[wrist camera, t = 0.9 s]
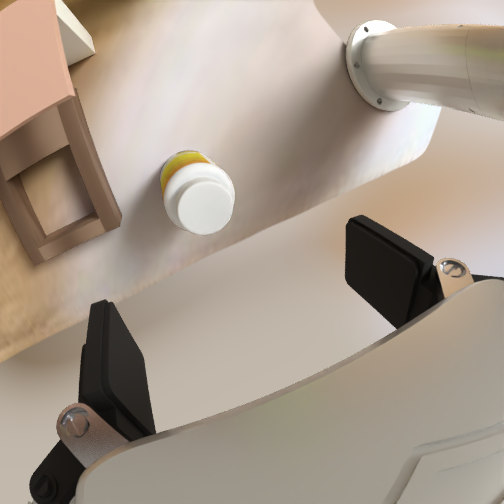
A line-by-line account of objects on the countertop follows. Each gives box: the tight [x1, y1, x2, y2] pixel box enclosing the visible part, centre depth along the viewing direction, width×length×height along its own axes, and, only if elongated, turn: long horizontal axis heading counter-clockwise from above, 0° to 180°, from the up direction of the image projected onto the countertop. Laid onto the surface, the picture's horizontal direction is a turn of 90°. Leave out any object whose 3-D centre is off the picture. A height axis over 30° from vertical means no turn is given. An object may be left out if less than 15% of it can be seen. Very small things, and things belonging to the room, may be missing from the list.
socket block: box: [0, 88, 122, 266], centre depth 22 cm, size 11×14×3 cm
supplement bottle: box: [160, 150, 235, 235], centre depth 24 cm, size 6×6×10 cm
